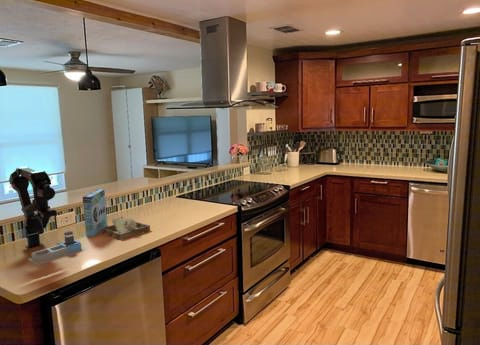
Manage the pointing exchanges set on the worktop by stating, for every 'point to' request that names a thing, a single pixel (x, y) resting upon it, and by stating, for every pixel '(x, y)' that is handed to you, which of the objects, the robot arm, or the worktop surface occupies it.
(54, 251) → the narrow cubby shelf
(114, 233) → the cheese crate
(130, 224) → the pale green lump
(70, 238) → the dark grey cylinder
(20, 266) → the worktop surface
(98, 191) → the gum box
